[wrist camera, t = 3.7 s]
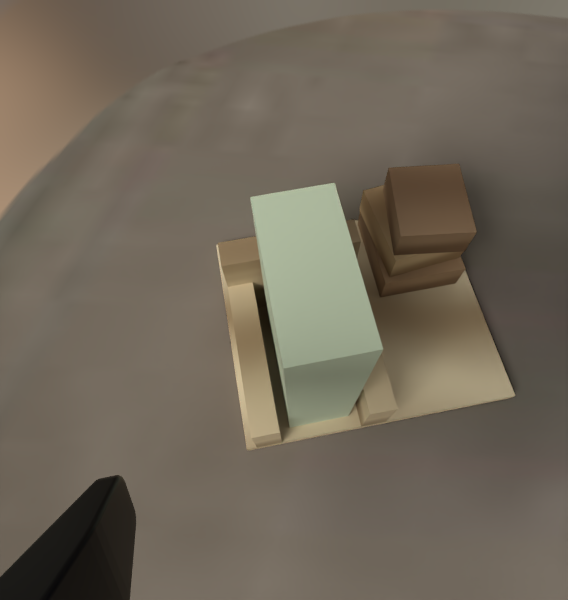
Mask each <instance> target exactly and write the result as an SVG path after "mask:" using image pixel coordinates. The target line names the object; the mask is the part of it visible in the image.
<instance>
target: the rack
mask: <svg viewBox="0 0 568 600" xmlns="http://www.w3.org/2000/svg"><path fill="white" fill-rule="evenodd" d="M359 210H360V214H359V219H358V220H354V219H352V220H346V224H347V227H348V230H349V234H350V237H351V241H352V244H353V247H354V251H355V254H356V258H357V261H358V265H359V268H360V271H361V275H362V278H363V282H364V285H365V288H366V292H367V295H368V299H369V302H370V305H371V309H372V312H373V316H374V319H375V323H376V326H377V329H378V333H379V336H380V340H381V343H382V346H383V351H382V353H381V355H380V357H379V359H378V361H377V362H376V364H375V366H374V368H373V370H372V372H371V374H370V376H369V378H368V380H367V381H366V383H365V385H364V387H363V389H362V391H361V393H360V395H359V397H358V399H357V400H356V402H355V404H354V406H353V408H352V410H351V412H350V414H349V416H346V417H341V418H336V419H331V420H326V421H321V422H315V423H310V424H305V425H300V426H295V427H289V422H288V417H287V411H286V406H285V401H284V396H283V390H282V385H281V380H280V375H279V369H278V364H277V359H276V353H275V348H274V343H273V338H272V332H271V327H270V322H269V317H268V311H267V304H266V298H265V291H264V284H263V278H262V271H261V265H260V258H259V251H258V245H257V238H256V236H255V237H249V238H244V239H238V240H232V241H227V242H221V243H218V245H216V246H217V253H218V259H219V266H220V273H221V279H222V286H223V293H224V299H225V306H226V313H227V320H228V326H229V333H230V340H231V346H232V353H233V360H234V366H235V373H236V380H237V386H238V393H239V400H240V406H241V413H242V420H243V426H244V433H245V440H246V447H247V450H248V451H249V450H254V449H259V448H264V447H269V446H274V445H279V444H284V443H289V442H294V441H299V440H304V439H309V438H314V437H319V436H324V435H329V434H334V433H339V432H344V431H349V430H354V429H358V428H363V427H368V426H373V425H378V424H383V423H388V422H393V421H398V420H403V419H408V418H413V417H418V416H423V415H428V414H433V413H438V412H443V411H448V410H453V409H458V408H463V407H468V406H473V405H478V404H483V403H488V402H493V401H498V400H503V399H508V398H512V397H514V396H515V393H514V391H513V388H512V386H511V383H510V381H509V379H508V376H507V374H506V371H505V369H504V366H503V364H502V361H501V359H500V356H499V354H498V351H497V349H496V346H495V344H494V341H493V339H492V336H491V334H490V331H489V329H488V326H487V324H486V321H485V319H484V316H483V314H482V311H481V309H480V306H479V304H478V301H477V299H476V296H475V294H474V291H473V289H472V286H471V284H470V281H469V279H468V276H467V274H466V271H465V269H466V268H465V266H464V263H463V261H462V258H461V254H462V253H463V252H464V251H465V250H466V248H467V247H468V245H469V244H470V242H471V241H472V239H473V237H474V236H475V234H476V233H477V231H476V227H475V223H474V219H473V215H472V211H471V208H470V204H469V200H468V196H467V192H466V188H465V184H464V181H463V177H462V173H461V169H460V165H459V164H447V165H429V166H412V167H394V168H389V169H388V172H387V176H386V180H385V184H384V185H382V186H378V187H375V188H371V189H367V190H363V195H362V199H361V204H360V209H359Z"/></svg>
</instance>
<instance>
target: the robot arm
mask: <svg viewBox="0 0 568 600" xmlns="http://www.w3.org/2000/svg"><path fill="white" fill-rule="evenodd" d="M135 530H136V514H135V509H134V506H133V503H132V501H131V498H130V495H129V492H128V489H127V486H126V483H125V481H124V479H123V478H122V477H121V476H119V475H115V476H110V477H105V478H101V479H98V480H96V481H95V482H94V483H93V484H92V485H91V486H90V487H89V488H88V489H87V490H86V491H85V492H84V493H83V494H82V495H81V496H80V497H79V498H78V499H77V500H76V501H75V502H74V503H73V504H72V505H71V506H70V507H69V508H68V509H67V510H66V511H65V512H64V513H63V514H62V515H61V516H60V517H59V518H58V519H57V520H56V521H55V522H54V523H53V524H52V525H51V526H50V527H49V528H48V529H47V530H46V531H45V532H44V533H43V534H42V535H41V536H40V537H39V538H38V539H37V540H36V541H35V542H34V543H33V544H32V545H31V546H30V547H29V548H28V549H27V550H26V551H25V553H24V554H23V555H22V556H21V557H20V558H19V559H18V560H17V561H16V562H15V563H14V564H13V565H12V566H11V567H10V568H9V569H8V570H7V571H6V572H5V573H4V574H3V575H2V576H1V577H0V600H130V590H131V578H132V566H133V554H134V542H135Z"/></svg>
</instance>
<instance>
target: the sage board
mask: <svg viewBox="0 0 568 600" xmlns="http://www.w3.org/2000/svg"><path fill="white" fill-rule="evenodd" d="M250 199H251V205H252V212H253V218H254V225H255V232H256V238H257V245H258V251H259V258H260V265H261V271H262V278H263V284H264V291H265V298H266V304H267V311H268V317H269V322H270V327H271V332H272V338H273V343H274V348H275V353H276V359H277V364H278V369H279V375H280V380H281V385H282V390H283V396H284V401H285V406H286V411H287V417H288V422H289V427H295V426H300V425H305V424H310V423H315V422H321V421H326V420H331V419H336V418H341V417H346V416H349V414H350V412H351V410H352V408H353V406H354V404H355V402H356V400H357V399H358V397H359V395H360V393H361V391H362V389H363V387H364V385H365V383H366V381H367V380H368V378H369V376H370V374H371V372H372V370H373V368H374V366H375V364H376V362H377V361H378V359H379V357H380V355H381V353H382V351H383V346H382V343H381V340H380V336H379V333H378V329H377V326H376V323H375V319H374V316H373V312H372V309H371V305H370V302H369V299H368V295H367V292H366V288H365V285H364V282H363V278H362V275H361V271H360V268H359V265H358V261H357V258H356V254H355V251H354V247H353V244H352V241H351V237H350V234H349V230H348V227H347V224H346V220H345V217H344V213H343V210H342V207H341V203H340V200H339V196H338V193H337V189H336V186H335V183H330V184H325V185H319V186H313V187H307V188H301V189H295V190H289V191H284V192H278V193H272V194H266V195H260V196H254V197H250Z"/></svg>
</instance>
